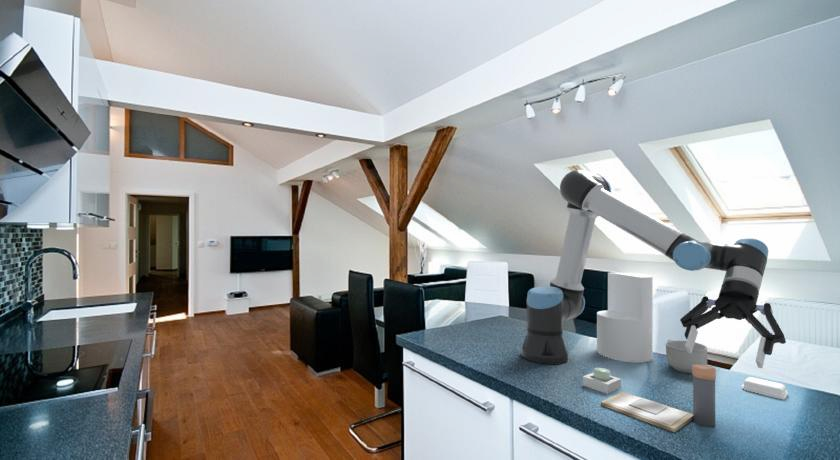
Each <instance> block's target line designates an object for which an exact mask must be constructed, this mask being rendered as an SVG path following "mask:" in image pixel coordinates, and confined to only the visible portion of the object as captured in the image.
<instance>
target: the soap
mask: <svg viewBox="0 0 840 460" xmlns="http://www.w3.org/2000/svg"><path fill="white" fill-rule="evenodd" d="M743 389H744V390H743ZM741 390H743V391H746V390H747V392H750V391H751V393H753V392H755V393H754V394H757V393H759V395H761V394H762V396H766V397H771V398H775V399H780V400H786V399H787V397H788V396H789V392H788V391H787V388H786V386H785V384H783V383H779V382H774V381H770V380H766V379H762V378H756V377H752V376H748V377H747V378H745V379H744V381H743V384H742V385H741Z"/></svg>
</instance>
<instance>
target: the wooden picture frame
mask: <svg viewBox="0 0 840 460" xmlns="http://www.w3.org/2000/svg"><path fill="white" fill-rule="evenodd" d="M600 406H602V407H605V408H608V409H610V410H613V411H616V412H618V413H621V414H623V415H626V416H629V417H631V418H634V419H637V420H639V421H642V422H646V423H647V424H650V425H653V426H656V427H659V428H661V429H664V430H667V431H669V432H673V433H676V432H678V430H680V429H682V428H683V427H685V426H686V425H687V424H689V423H690V422H692V421H693V413H690V412H687V411H684V410H681V409H678V408H675V407H671V406H668V405H666V404H663V403H659V402H656V401H653V400H651V399H647V398H644V397H642V396H638V395H634V394H632V393H629V392H626V391H621V392H619V393H617V394H614V395H612V396H610V397H608V398H606V399H604V400H602V401H600Z"/></svg>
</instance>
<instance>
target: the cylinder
mask: <svg viewBox="0 0 840 460" xmlns="http://www.w3.org/2000/svg"><path fill="white" fill-rule="evenodd" d="M653 279H654V278H653V275H650V274H643V273H635V272H634V273H633V272H607V310H599V311H597V312H596V352H597V354H598V353H599V354H598V355H600V354H601V355H600V356H602V355H603V356H602V357H604V356H605V358H606V357H608V358H607V359H610V358H611V360H613V359H614V361H618V360H619V361H620V362H624V363H626V362H627V363H639V364H641V363H649V362H651V361H653V357H654V356H653V349H654V348H653V346H654V345H653V338H654V337H653V335H654V332H653V330H654V329H653V327H654V326H653V322H654V321H653V312H654V311H653V302H654V301H653V299H654V297H653V293H654V292H653V291H654V290H653Z"/></svg>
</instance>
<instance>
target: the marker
mask: <svg viewBox="0 0 840 460" xmlns="http://www.w3.org/2000/svg"><path fill="white" fill-rule="evenodd" d="M691 374H692V414H693V420H692V421H693V422H694V423H695V424H697V425H700V426H702V427H707V428H715V427H716V380H717V379H716V378H717V370H716V368H715V367H713V366H710V365H707V366H706V365H699V364H695V365H692V373H691Z"/></svg>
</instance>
